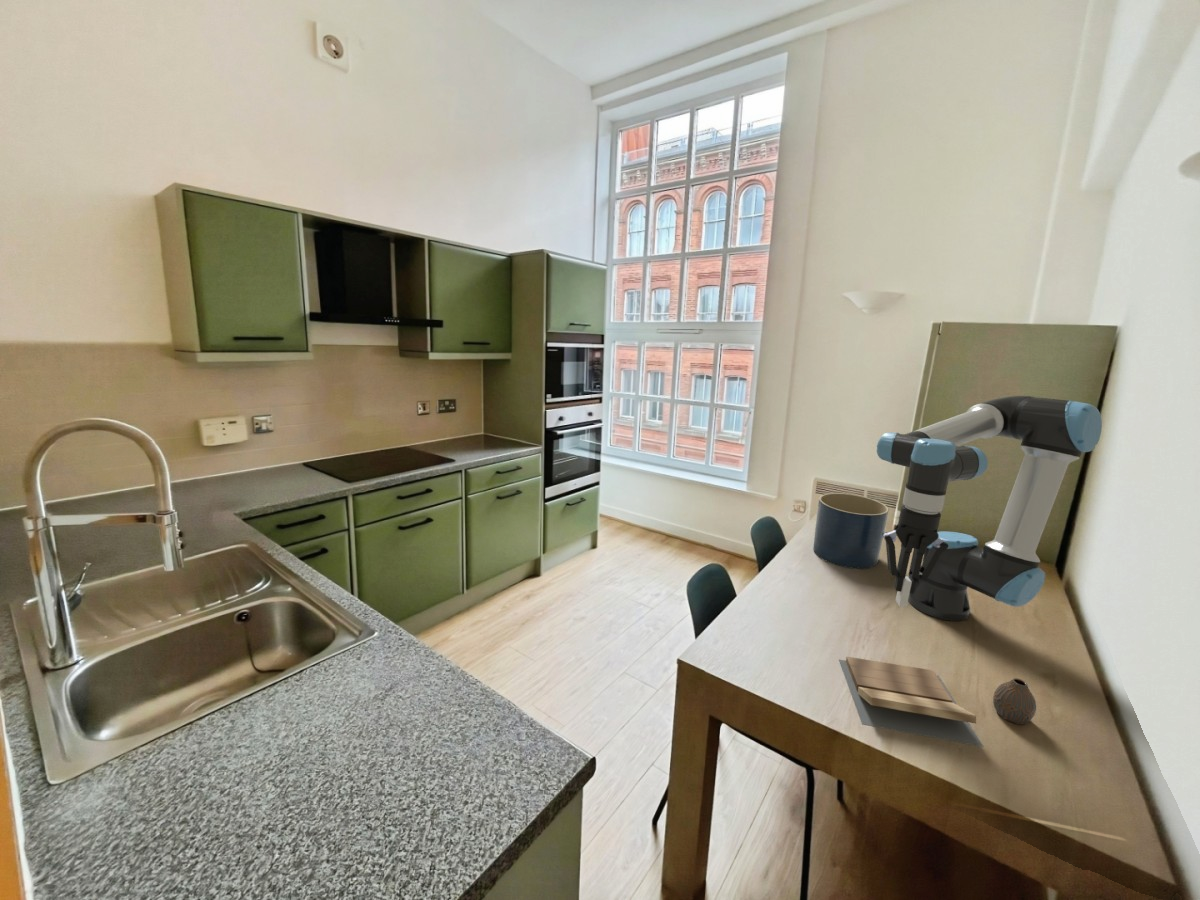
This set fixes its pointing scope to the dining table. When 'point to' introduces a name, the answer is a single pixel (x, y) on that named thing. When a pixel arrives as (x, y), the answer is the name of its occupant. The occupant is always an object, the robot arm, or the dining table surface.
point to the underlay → (910, 718)
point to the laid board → (896, 679)
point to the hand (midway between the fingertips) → (900, 603)
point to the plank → (916, 705)
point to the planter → (849, 530)
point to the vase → (1015, 701)
